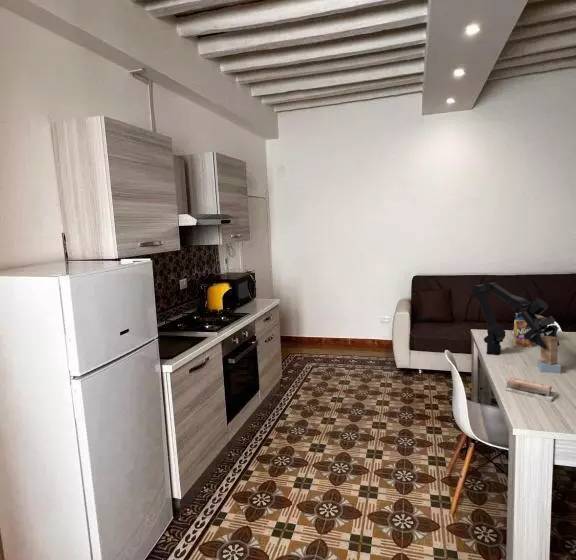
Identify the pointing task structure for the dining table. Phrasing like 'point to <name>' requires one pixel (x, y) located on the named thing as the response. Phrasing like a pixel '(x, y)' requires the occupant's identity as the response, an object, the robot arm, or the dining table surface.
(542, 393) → the packaged product
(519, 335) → the candy box
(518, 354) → the dining table surface
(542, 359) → the walnut block
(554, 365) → the slate base block
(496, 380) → the dining table surface
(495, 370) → the dining table surface
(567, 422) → the dining table surface
